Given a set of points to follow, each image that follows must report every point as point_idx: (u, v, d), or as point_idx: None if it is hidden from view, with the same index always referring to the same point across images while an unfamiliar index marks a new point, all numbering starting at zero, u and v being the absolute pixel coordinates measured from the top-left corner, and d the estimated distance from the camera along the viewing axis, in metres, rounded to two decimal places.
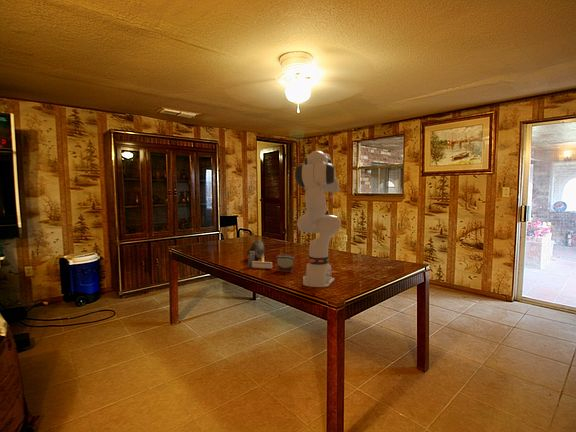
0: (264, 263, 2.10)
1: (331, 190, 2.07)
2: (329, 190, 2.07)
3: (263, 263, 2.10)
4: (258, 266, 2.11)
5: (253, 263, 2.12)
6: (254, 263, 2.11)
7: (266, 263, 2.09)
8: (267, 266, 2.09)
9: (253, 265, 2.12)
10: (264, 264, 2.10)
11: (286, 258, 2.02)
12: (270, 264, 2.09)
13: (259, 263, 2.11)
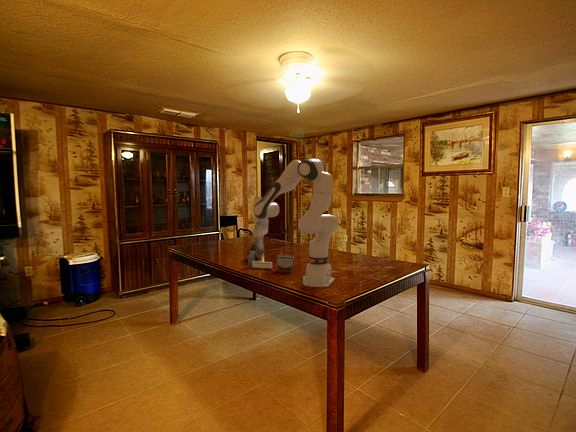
0: (264, 263, 2.10)
1: (265, 233, 2.07)
2: (265, 233, 2.06)
3: (263, 263, 2.10)
4: (258, 266, 2.11)
5: (253, 263, 2.12)
6: (254, 263, 2.11)
7: (266, 263, 2.09)
8: (267, 266, 2.09)
9: (253, 265, 2.12)
10: (264, 264, 2.10)
11: (286, 258, 2.02)
12: (270, 264, 2.09)
13: (259, 263, 2.11)
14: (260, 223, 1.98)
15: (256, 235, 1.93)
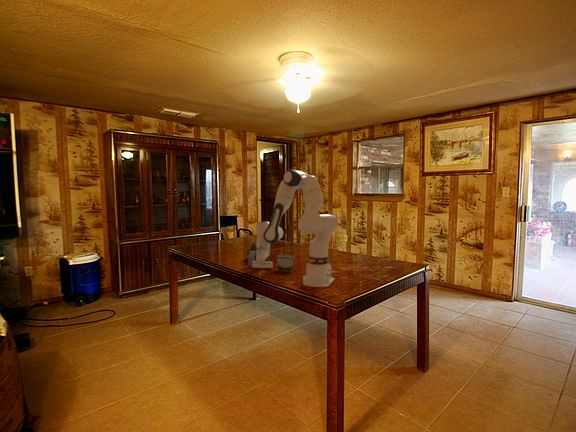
0: None
1: (267, 255, 2.13)
2: (267, 256, 2.12)
3: None
4: (258, 266, 2.11)
5: (253, 263, 2.12)
6: (254, 263, 2.12)
7: (266, 263, 2.10)
8: (267, 266, 2.10)
9: (253, 265, 2.12)
10: None
11: (286, 258, 2.02)
12: (270, 264, 2.10)
13: (259, 263, 2.11)
14: (262, 247, 2.04)
15: (259, 259, 1.99)
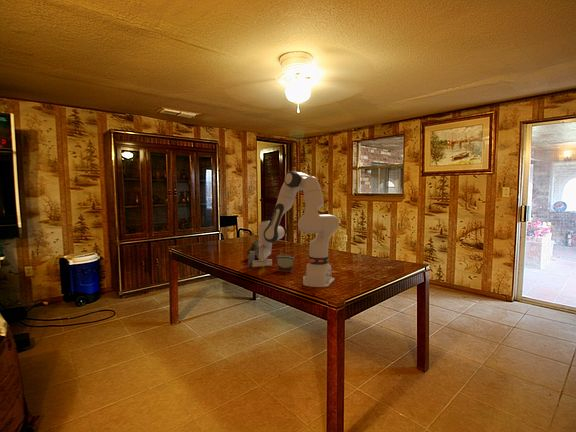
0: None
1: (269, 254, 2.19)
2: (268, 254, 2.17)
3: None
4: (259, 265, 2.15)
5: (254, 262, 2.13)
6: (255, 262, 2.13)
7: None
8: (267, 263, 2.17)
9: (254, 264, 2.13)
10: None
11: (286, 258, 2.02)
12: (270, 261, 2.18)
13: (260, 262, 2.15)
14: (265, 246, 2.09)
15: (261, 257, 2.04)
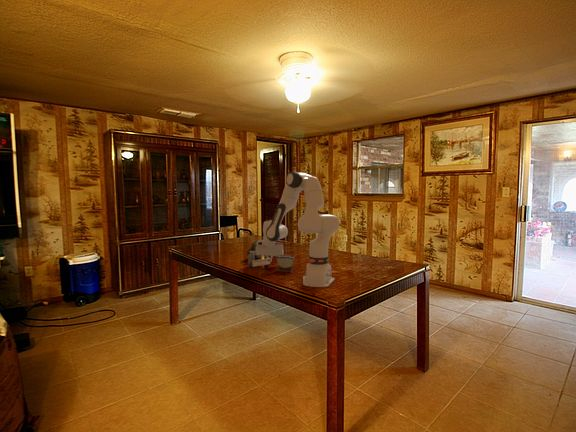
0: (263, 260, 2.18)
1: None
2: None
3: (262, 260, 2.18)
4: (258, 264, 2.16)
5: (253, 262, 2.14)
6: (254, 262, 2.14)
7: (265, 260, 2.19)
8: (266, 262, 2.20)
9: (253, 264, 2.14)
10: (263, 261, 2.18)
11: (286, 258, 2.02)
12: None
13: (259, 261, 2.16)
14: None
15: (283, 253, 2.17)
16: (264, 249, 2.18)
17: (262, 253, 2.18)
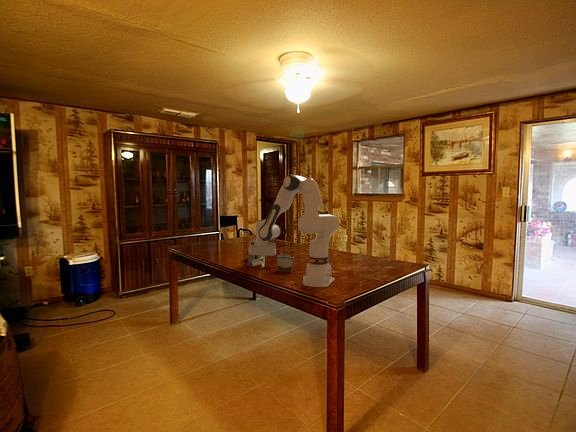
0: (260, 259, 2.21)
1: None
2: None
3: (259, 259, 2.21)
4: (256, 264, 2.18)
5: (253, 262, 2.15)
6: (253, 262, 2.15)
7: None
8: (262, 261, 2.23)
9: (253, 264, 2.15)
10: (260, 260, 2.21)
11: (286, 258, 2.02)
12: (264, 259, 2.25)
13: (257, 260, 2.18)
14: None
15: (275, 253, 2.18)
16: (257, 249, 2.19)
17: (255, 253, 2.20)
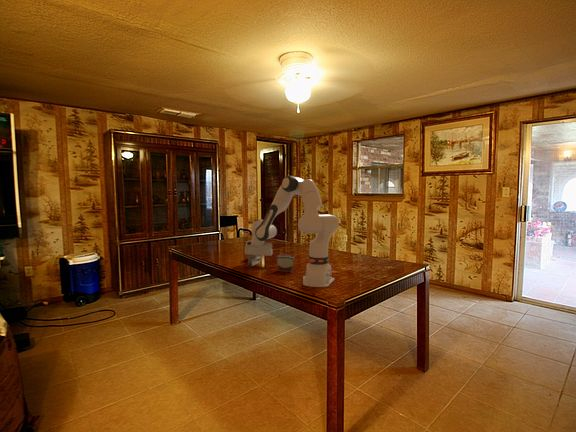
0: None
1: None
2: None
3: None
4: (254, 263, 2.19)
5: (252, 262, 2.15)
6: (253, 262, 2.16)
7: None
8: (258, 261, 2.25)
9: (252, 264, 2.15)
10: None
11: (286, 258, 2.02)
12: None
13: (255, 260, 2.19)
14: None
15: (272, 253, 2.19)
16: (253, 249, 2.20)
17: (251, 253, 2.20)
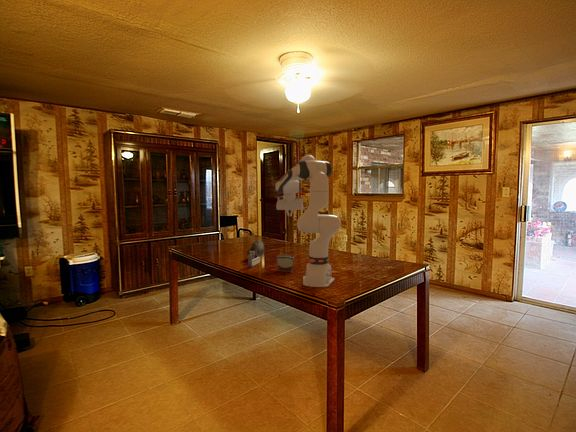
0: (257, 259, 2.22)
1: None
2: None
3: (257, 259, 2.22)
4: (254, 263, 2.19)
5: (252, 262, 2.15)
6: (253, 262, 2.16)
7: (258, 258, 2.24)
8: (258, 261, 2.25)
9: (252, 264, 2.15)
10: (257, 260, 2.23)
11: (286, 258, 2.02)
12: (259, 258, 2.27)
13: (255, 260, 2.19)
14: None
15: (302, 208, 2.29)
16: (285, 204, 2.30)
17: (283, 208, 2.30)
